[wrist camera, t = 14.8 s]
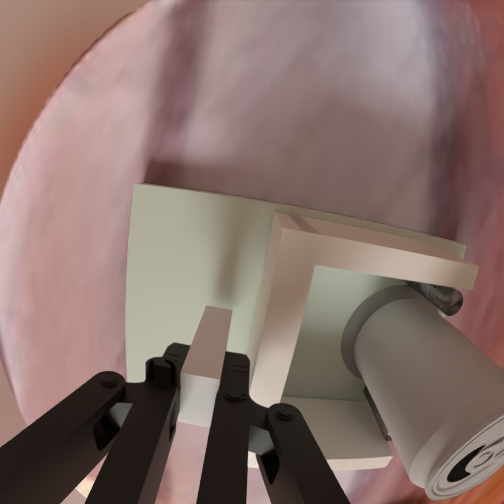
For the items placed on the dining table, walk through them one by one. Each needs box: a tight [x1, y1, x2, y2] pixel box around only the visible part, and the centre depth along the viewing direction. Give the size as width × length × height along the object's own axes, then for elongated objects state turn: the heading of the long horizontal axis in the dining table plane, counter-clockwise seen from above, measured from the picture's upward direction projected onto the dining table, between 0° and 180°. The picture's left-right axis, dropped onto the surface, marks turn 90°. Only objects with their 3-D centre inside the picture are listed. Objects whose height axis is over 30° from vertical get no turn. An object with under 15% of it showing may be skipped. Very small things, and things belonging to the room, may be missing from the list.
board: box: [126, 183, 466, 401], centre depth 20 cm, size 22×14×2 cm, turn 81°
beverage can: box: [354, 299, 504, 500], centre depth 13 cm, size 6×6×12 cm
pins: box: [363, 280, 463, 441], centre depth 17 cm, size 1×10×5 cm, turn 170°
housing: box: [247, 211, 479, 471], centre depth 16 cm, size 10×14×6 cm
